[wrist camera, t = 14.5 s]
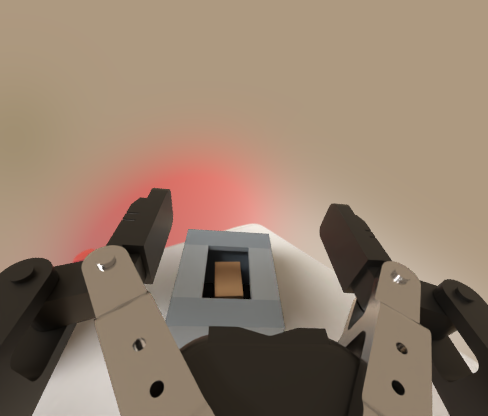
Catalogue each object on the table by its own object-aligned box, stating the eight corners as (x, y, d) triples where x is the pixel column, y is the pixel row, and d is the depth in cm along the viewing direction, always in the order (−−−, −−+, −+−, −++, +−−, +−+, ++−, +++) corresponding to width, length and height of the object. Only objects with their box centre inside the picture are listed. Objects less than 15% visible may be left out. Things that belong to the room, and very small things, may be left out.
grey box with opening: (265, 369, 35) (284, 328, 26) (174, 368, 33) (164, 325, 25) (257, 280, 47) (268, 233, 39) (191, 278, 46) (188, 229, 38)
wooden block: (235, 333, 38) (243, 295, 31) (212, 334, 38) (214, 296, 31) (233, 301, 43) (239, 261, 36) (213, 301, 42) (215, 261, 35)
